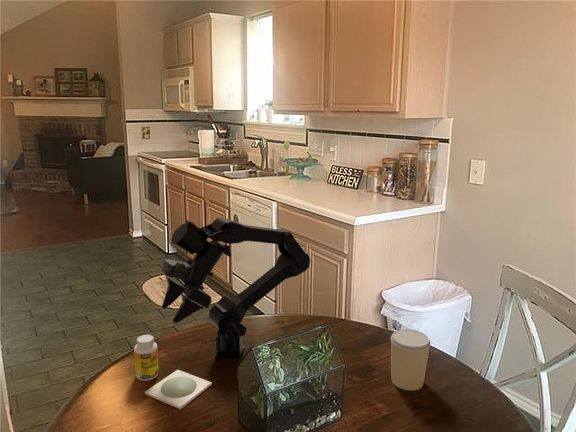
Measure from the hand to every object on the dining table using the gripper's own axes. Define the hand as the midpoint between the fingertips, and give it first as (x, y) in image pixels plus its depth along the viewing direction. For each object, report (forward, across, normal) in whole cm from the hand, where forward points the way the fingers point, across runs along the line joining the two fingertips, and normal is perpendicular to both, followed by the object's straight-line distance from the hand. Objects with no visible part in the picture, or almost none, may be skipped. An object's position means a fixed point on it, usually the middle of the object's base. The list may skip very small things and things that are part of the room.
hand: (168, 315), depth 118 cm
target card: (+12, +10, +8) cm, 18 cm away
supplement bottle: (+16, 0, +5) cm, 16 cm away
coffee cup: (-18, +34, +48) cm, 62 cm away
